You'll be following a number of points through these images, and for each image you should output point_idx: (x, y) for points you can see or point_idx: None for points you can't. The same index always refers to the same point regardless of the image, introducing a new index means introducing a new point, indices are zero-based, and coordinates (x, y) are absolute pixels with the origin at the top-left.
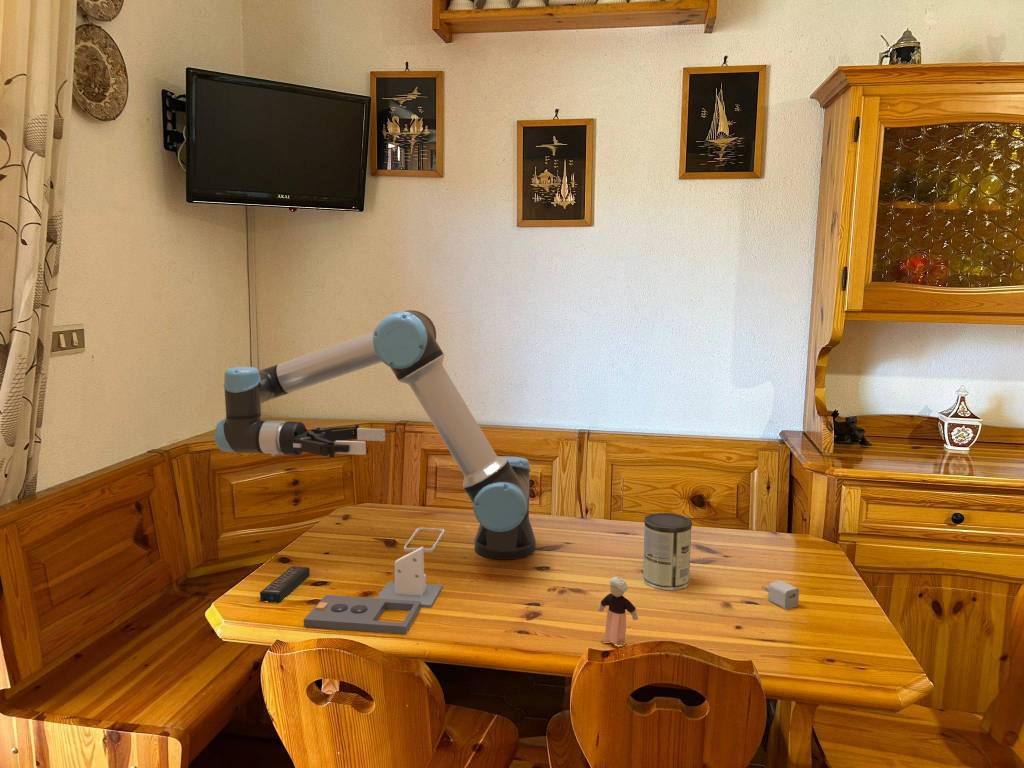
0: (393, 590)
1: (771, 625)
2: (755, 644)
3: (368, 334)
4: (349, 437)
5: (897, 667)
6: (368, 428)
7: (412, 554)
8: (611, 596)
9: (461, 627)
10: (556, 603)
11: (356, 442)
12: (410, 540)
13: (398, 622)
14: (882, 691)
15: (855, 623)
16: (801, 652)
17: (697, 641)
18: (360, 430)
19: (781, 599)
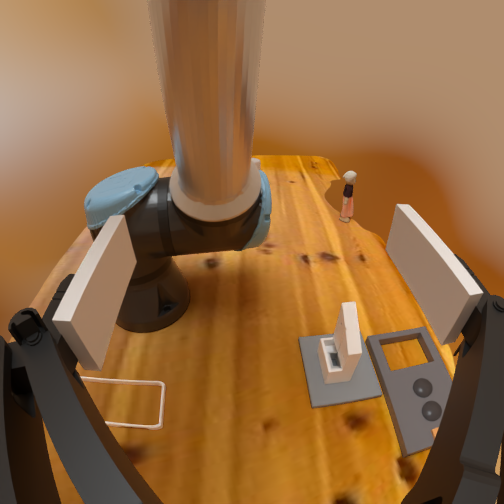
0: (341, 386)
1: (283, 174)
2: (310, 179)
3: None
4: (92, 405)
5: (308, 157)
6: (78, 270)
7: (357, 318)
8: (351, 187)
9: (382, 296)
10: (296, 246)
11: (425, 224)
12: (117, 423)
13: (422, 336)
14: (332, 162)
15: (268, 159)
16: (310, 171)
17: (320, 192)
18: (82, 311)
19: (258, 166)
